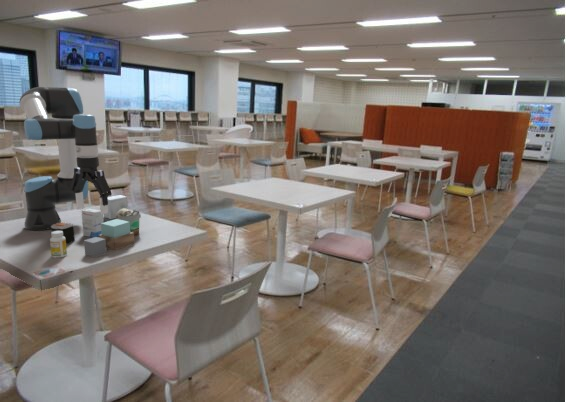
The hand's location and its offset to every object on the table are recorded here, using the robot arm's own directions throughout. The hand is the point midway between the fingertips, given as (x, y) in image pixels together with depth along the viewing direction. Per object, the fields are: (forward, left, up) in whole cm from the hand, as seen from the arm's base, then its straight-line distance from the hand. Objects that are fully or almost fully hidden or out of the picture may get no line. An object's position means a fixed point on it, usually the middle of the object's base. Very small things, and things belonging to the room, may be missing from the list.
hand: (92, 211), depth 158 cm
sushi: (-24, +3, -18) cm, 30 cm away
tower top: (-2, +12, -13) cm, 18 cm away
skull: (-23, +36, -18) cm, 46 cm away
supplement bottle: (-11, -8, -18) cm, 22 cm away
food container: (-6, +25, -18) cm, 31 cm away
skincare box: (-37, +42, -18) cm, 59 cm away
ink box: (-20, +15, -18) cm, 31 cm away
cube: (0, 0, -18) cm, 18 cm away
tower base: (-2, +12, -18) cm, 22 cm away
